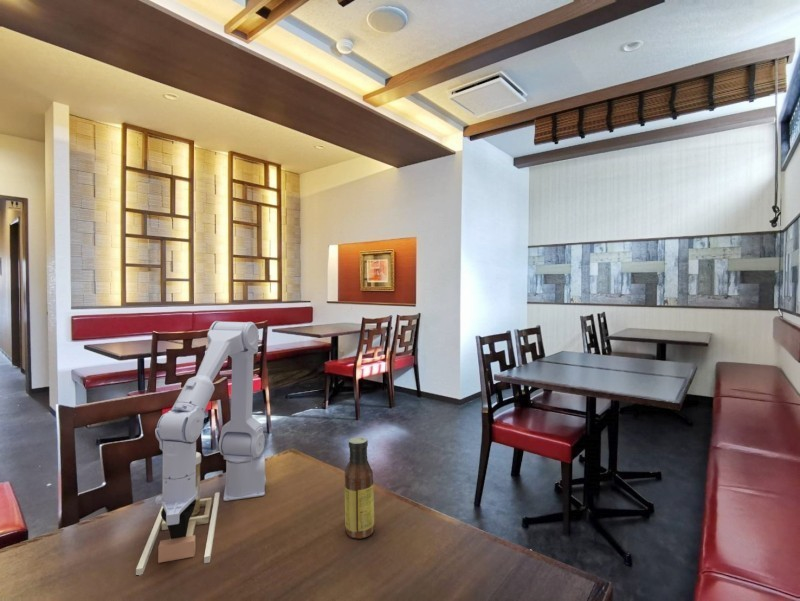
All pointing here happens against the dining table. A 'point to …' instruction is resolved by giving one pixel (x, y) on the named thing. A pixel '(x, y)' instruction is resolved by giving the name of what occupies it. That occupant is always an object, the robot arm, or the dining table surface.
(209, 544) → the lane rails
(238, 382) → the robot arm
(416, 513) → the dining table surface
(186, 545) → the sliding strip
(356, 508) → the sauce bottle
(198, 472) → the sprinkles bottle
